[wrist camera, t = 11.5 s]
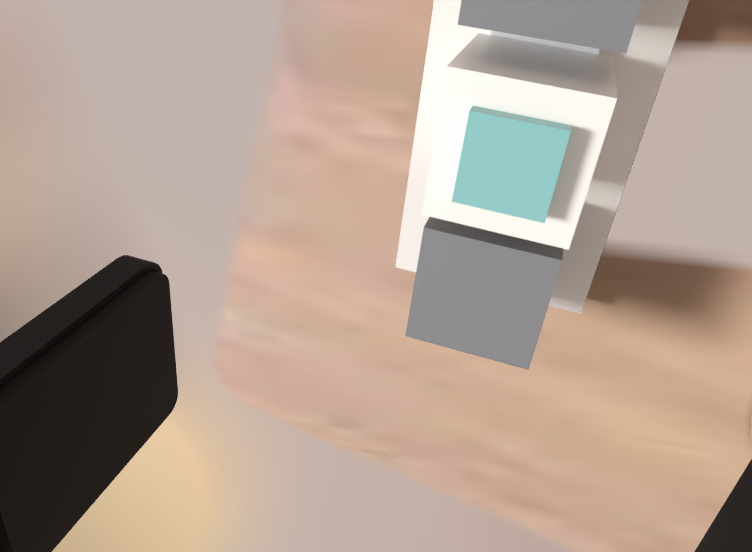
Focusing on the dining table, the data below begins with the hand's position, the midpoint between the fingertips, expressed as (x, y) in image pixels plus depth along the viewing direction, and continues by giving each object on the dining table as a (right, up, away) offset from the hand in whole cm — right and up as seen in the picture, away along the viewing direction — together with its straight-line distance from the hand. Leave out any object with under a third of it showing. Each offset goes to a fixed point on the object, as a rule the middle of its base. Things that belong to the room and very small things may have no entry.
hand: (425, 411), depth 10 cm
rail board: (+6, +10, +16) cm, 20 cm away
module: (+5, +9, +15) cm, 18 cm away
